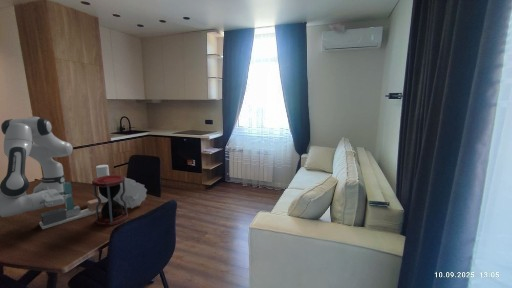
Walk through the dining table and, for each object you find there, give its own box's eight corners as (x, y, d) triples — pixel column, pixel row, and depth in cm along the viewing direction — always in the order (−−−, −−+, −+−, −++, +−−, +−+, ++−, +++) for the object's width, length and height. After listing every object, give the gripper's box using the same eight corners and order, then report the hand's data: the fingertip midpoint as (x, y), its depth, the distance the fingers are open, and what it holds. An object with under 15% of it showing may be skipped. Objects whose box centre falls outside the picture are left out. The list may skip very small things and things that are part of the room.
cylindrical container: (105, 203, 161) (102, 167, 157) (96, 202, 163) (93, 167, 158) (113, 199, 168) (110, 165, 164) (105, 198, 169) (102, 164, 165)
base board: (42, 229, 128) (42, 227, 128) (39, 224, 133) (39, 222, 132) (104, 210, 151) (104, 208, 150) (100, 206, 156) (100, 205, 155)
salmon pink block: (91, 211, 146) (90, 203, 145) (88, 209, 149) (87, 201, 148) (102, 208, 150) (101, 200, 150) (99, 206, 154) (98, 198, 153)
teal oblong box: (45, 223, 130) (40, 189, 127) (44, 220, 132) (39, 187, 129) (80, 212, 142) (77, 181, 139) (78, 211, 145) (75, 180, 141)
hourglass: (98, 216, 143) (93, 176, 139) (128, 211, 151) (125, 173, 146) (94, 228, 129) (89, 185, 125) (127, 222, 137) (124, 181, 132)
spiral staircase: (126, 203, 172) (144, 211, 157) (100, 200, 158) (117, 208, 143) (134, 178, 176) (153, 184, 161) (110, 173, 162) (128, 179, 147)
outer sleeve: (44, 225, 129) (42, 216, 128) (42, 222, 132) (40, 213, 131) (66, 219, 137) (65, 210, 136) (64, 216, 140) (63, 207, 139)
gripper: (41, 200, 121) (74, 193, 132) (34, 190, 134) (64, 184, 144) (43, 212, 122) (75, 203, 133) (35, 201, 135) (65, 194, 145)
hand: (69, 193), depth 139 cm, fingers open, 4 cm apart
